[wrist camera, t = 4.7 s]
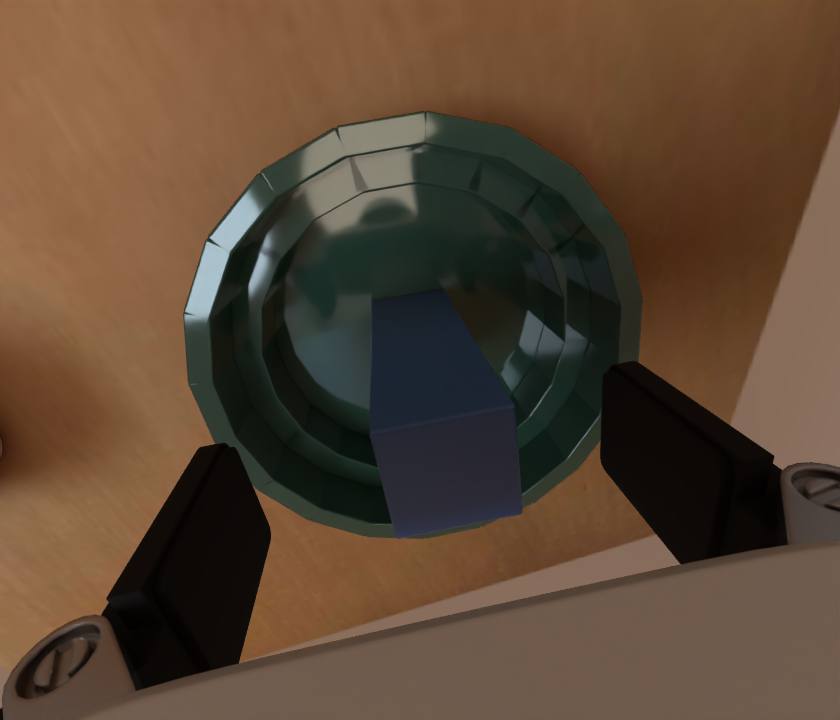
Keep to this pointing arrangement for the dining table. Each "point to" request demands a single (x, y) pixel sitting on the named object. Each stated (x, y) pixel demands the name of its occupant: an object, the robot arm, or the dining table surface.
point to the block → (438, 419)
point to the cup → (0, 448)
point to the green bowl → (399, 276)
